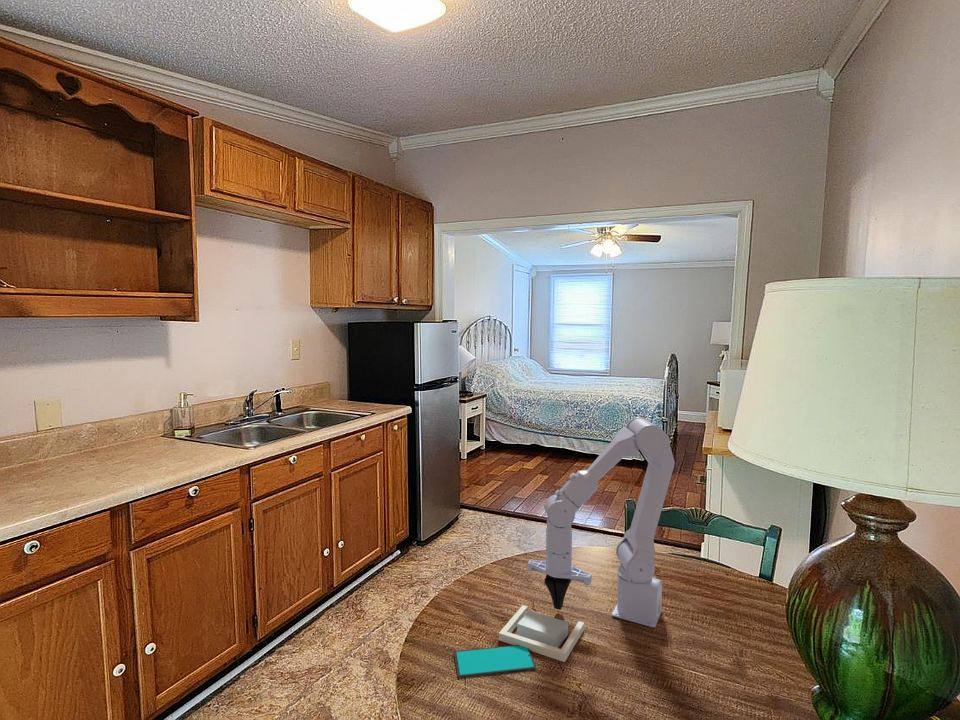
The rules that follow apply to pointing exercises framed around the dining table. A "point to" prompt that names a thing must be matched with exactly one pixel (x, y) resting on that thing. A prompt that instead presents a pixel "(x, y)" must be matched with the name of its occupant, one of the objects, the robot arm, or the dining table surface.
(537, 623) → the light gray box
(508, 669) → the smartphone
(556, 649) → the cream u-shaped bracket
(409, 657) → the dining table surface
